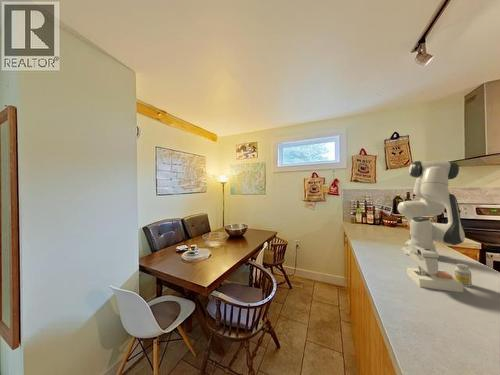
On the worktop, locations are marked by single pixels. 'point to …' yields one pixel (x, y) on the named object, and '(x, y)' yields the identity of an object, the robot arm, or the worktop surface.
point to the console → (435, 281)
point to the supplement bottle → (463, 275)
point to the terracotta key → (443, 275)
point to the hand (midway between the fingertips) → (422, 275)
